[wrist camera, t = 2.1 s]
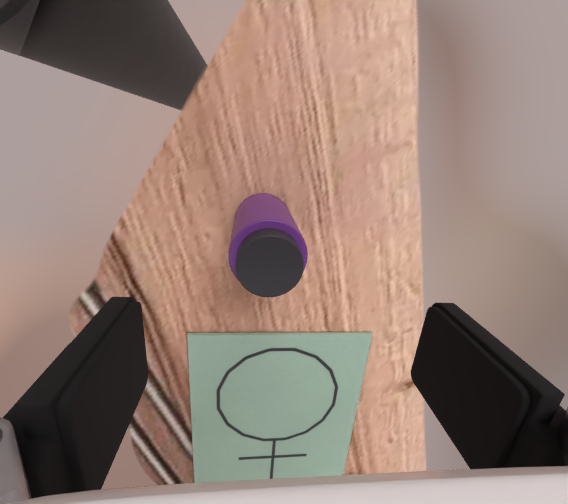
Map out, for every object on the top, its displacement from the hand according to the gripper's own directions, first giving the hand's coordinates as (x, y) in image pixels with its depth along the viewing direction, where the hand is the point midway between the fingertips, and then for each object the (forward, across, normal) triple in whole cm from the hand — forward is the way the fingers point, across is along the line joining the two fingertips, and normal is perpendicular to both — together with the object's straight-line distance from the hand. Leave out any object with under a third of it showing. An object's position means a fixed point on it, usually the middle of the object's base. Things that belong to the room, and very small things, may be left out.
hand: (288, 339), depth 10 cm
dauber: (+14, 0, 0) cm, 14 cm away
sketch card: (+14, -2, +22) cm, 26 cm away
